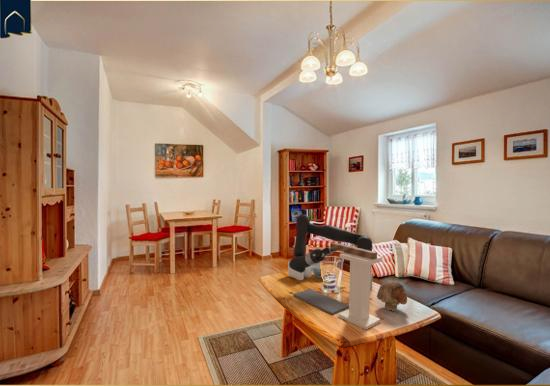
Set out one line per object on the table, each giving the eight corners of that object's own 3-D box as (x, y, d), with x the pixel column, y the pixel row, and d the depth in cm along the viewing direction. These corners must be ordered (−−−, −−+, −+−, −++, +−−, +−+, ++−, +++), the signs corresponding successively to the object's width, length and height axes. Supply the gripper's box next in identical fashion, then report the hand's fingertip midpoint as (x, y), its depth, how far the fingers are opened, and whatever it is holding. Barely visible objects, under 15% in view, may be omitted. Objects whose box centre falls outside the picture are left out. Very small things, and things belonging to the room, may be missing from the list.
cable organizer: (312, 279, 196) (312, 262, 195) (301, 282, 190) (301, 265, 189) (298, 273, 208) (298, 257, 207) (287, 276, 202) (287, 260, 201)
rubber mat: (293, 295, 167) (293, 294, 167) (309, 290, 176) (309, 288, 176) (332, 314, 143) (332, 312, 143) (349, 307, 152) (349, 305, 152)
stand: (338, 316, 142) (339, 253, 140) (352, 310, 149) (354, 250, 148) (366, 329, 129) (367, 261, 128) (380, 322, 137) (382, 257, 135)
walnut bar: (330, 248, 151) (330, 243, 151) (333, 247, 153) (333, 242, 153) (373, 259, 131) (373, 253, 130) (377, 258, 132) (377, 252, 132)
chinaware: (305, 275, 202) (305, 265, 202) (317, 271, 213) (318, 261, 213) (322, 281, 192) (322, 270, 191) (334, 276, 202) (335, 265, 202)
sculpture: (399, 319, 140) (400, 289, 139) (370, 308, 152) (371, 280, 151) (413, 310, 149) (414, 282, 149) (385, 300, 161) (386, 275, 161)
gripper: (303, 252, 159) (322, 242, 148) (320, 249, 168) (339, 239, 157) (308, 265, 157) (327, 256, 145) (325, 261, 165) (344, 252, 154)
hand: (333, 247), depth 151 cm, fingers open, 8 cm apart
